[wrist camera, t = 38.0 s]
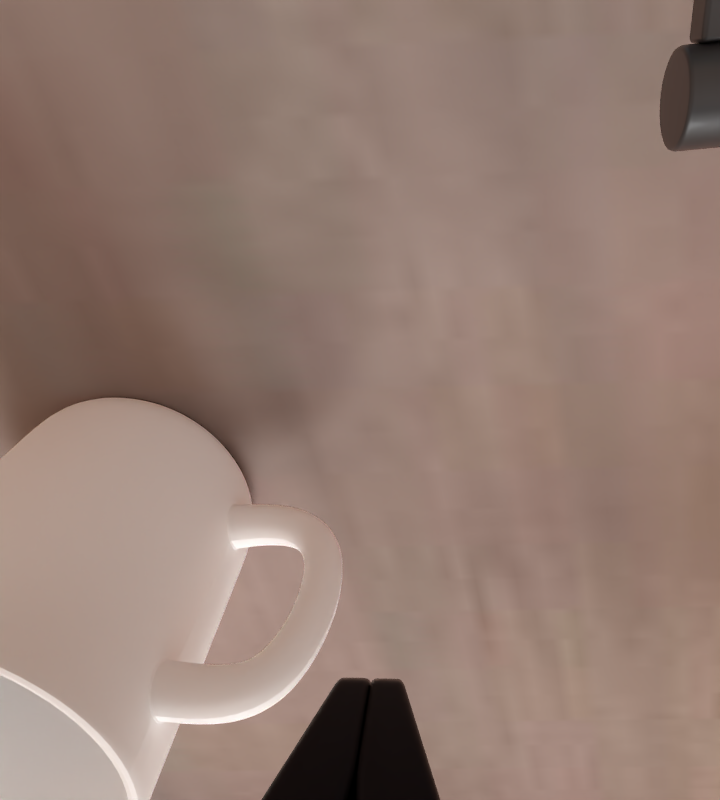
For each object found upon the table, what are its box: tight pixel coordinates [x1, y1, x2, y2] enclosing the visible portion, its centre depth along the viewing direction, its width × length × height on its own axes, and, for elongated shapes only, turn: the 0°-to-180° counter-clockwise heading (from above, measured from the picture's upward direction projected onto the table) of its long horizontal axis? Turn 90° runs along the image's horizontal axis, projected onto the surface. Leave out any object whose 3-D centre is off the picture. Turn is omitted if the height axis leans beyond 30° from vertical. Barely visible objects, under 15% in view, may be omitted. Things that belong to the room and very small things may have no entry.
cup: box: [0, 398, 342, 800], centre depth 18 cm, size 8×12×10 cm
